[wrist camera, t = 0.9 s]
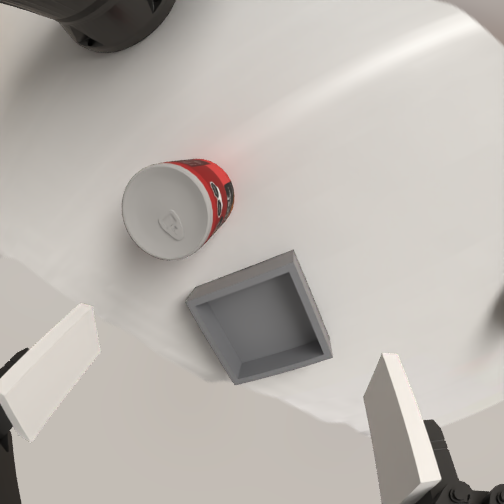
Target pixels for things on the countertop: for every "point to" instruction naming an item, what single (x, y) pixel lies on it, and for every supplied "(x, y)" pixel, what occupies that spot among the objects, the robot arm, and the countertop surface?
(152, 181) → the canned food
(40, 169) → the countertop surface
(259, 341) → the tray
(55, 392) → the robot arm
